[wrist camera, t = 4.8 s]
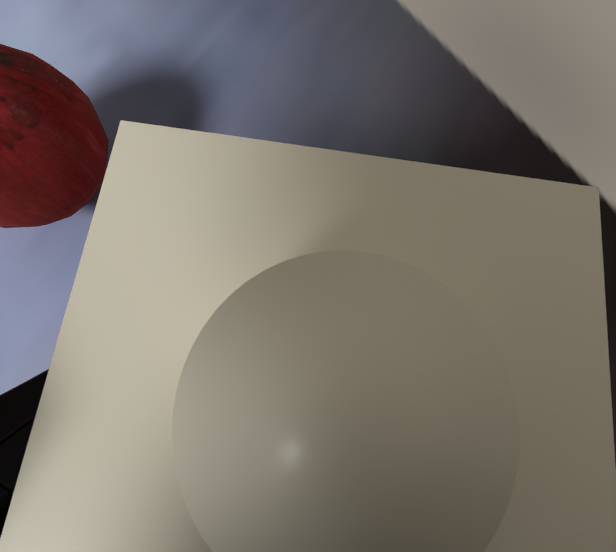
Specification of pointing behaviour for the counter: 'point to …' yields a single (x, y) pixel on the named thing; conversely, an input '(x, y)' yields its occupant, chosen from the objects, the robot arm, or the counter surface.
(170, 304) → the brick column
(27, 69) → the onion
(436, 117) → the counter surface
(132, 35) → the counter surface
